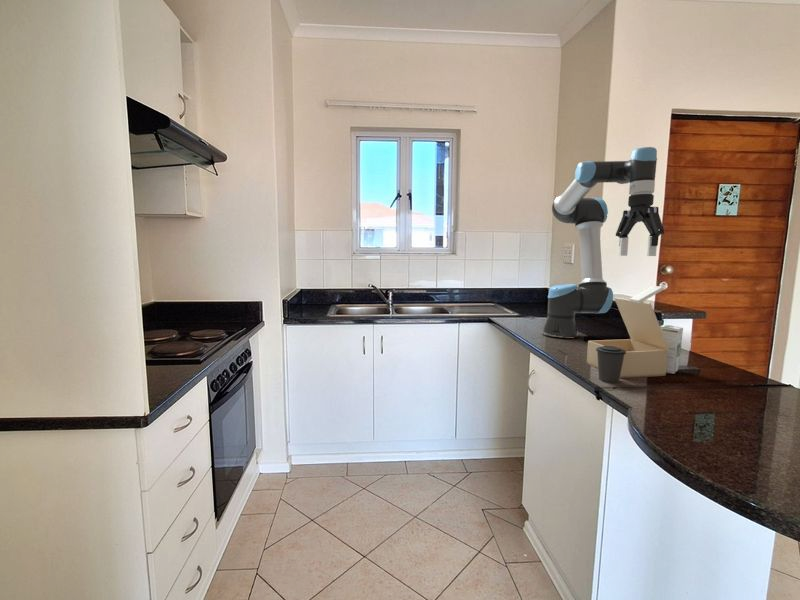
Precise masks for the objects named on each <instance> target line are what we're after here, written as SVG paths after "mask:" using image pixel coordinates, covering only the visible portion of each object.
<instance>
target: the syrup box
mask: <svg viewBox="0 0 800 600" xmlns="http://www.w3.org/2000/svg"><path fill="white" fill-rule="evenodd" d="M660 328H661V331H662V333H663V336H664V338H665V341H666V343H667V346H668V348H669V349H668V354H667V366H666V374H674V375H675V374H676V373H678V371H679V367H680V358H681V351H682V341H683V334H684V327H682V326H677V325H671V324H663V325H660ZM661 349H662V348H661ZM664 350H665V349H664Z"/></svg>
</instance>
